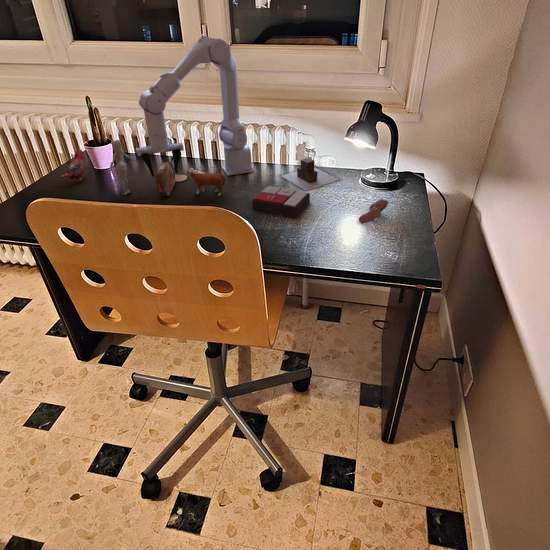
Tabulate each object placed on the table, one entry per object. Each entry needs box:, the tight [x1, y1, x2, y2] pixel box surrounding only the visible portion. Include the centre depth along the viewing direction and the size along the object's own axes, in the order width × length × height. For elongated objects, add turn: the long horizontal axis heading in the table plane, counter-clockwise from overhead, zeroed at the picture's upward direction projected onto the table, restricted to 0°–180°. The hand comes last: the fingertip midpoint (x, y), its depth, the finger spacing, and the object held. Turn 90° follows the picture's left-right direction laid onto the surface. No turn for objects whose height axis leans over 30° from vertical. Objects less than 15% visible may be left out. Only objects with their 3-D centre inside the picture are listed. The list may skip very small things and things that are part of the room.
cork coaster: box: [175, 174, 188, 183], centre depth 150 cm, size 6×6×1 cm
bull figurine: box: [186, 167, 226, 197], centre depth 138 cm, size 4×13×8 cm, turn 73°
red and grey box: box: [251, 185, 311, 219], centre depth 131 cm, size 11×4×15 cm
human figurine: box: [107, 139, 136, 196], centre depth 135 cm, size 12×4×18 cm, turn 155°
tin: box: [154, 161, 176, 197], centre depth 140 cm, size 15×3×8 cm, turn 179°
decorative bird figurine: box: [59, 148, 86, 184], centre depth 145 cm, size 3×18×10 cm, turn 174°
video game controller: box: [358, 198, 389, 224], centre depth 123 cm, size 10×5×7 cm, turn 148°
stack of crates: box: [280, 157, 340, 191], centre depth 147 cm, size 15×15×7 cm
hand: (164, 173), depth 139 cm, fingers open, 7 cm apart
